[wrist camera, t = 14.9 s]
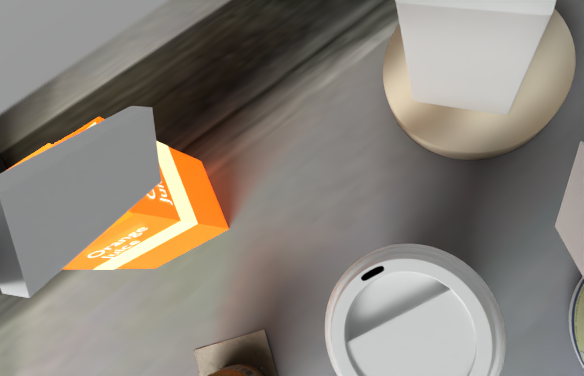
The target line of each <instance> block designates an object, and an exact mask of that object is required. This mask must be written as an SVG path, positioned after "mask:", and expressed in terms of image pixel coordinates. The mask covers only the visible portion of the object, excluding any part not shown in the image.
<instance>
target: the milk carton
mask: <svg viewBox="0 0 584 376" xmlns="http://www.w3.org/2000/svg"><path fill="white" fill-rule="evenodd" d="M395 1H396V6H397V11H398V17H399V23H400V29H401V34H402V40H403V46H404V52H405V57H406V63H407V69H408V74H409V80H410V86H411V92H412V97H413V100H414V101H417V102H422V103H428V104H435V105H441V106H448V107H454V108H461V109H467V110H473V111H480V112H486V113H493V114H499V115H508V113H509V111H510V109H511V107H512V104H513V102H514V100H515V97H516V95H517V93H518V91H519V88H520V86H521V84H522V81H523V79H524V77H525V75H526V72H527V70H528V68H529V65H530V63H531V61H532V58H533V56H534V54H535V52H536V49H537V47H538V45H539V42H540V40H541V38H542V36H543V33H544V31H545V29H546V26H547V24H548V22H549V20H550V17H551V15H552V13H553V10H554V7H555V3H556V0H395Z"/></svg>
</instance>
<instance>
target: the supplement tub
mask: <svg viewBox="0 0 584 376" xmlns="http://www.w3.org/2000/svg"><path fill="white" fill-rule="evenodd" d="M569 331H570V337H571V340H572V344H573V347H574V350H575V352H576V355H577V357H578V359H579V361H580V363H581V365H582V367H583V368H584V278H583V277H582V278H581V279H580V281H579V283H578V284H577V286H576V288H575V290H574V293H573V296H572V299H571V302H570V308H569Z"/></svg>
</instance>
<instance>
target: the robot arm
mask: <svg viewBox="0 0 584 376" xmlns="http://www.w3.org/2000/svg"><path fill="white" fill-rule="evenodd" d="M159 183H161V175H160V167H159V159H158V151H157V143H156V135H155V127H154V119H153V111H152V107H139V106H130V107H128V108H126V109H124V110H122V111H121V112H119V113H117V114H115V115H113V116H111V117H109V118H107V119H105V120H103V121H101V122H99V123H97V124H95V125H93V126H91V127H89V128H88V129H86V130H84V131H82V132H80V133H78V134H76V135H74V136H72V137H70V138H68V139H66V140H64V141H62V142H60V143H58V144H57V145H55V146H53V147H51V148H49V149H47V150H45V151H43V152H41V153H39V154H37V155H35V156H33V157H31V158H29V159H27V160H25V161H24V162H22V163H20V164H18V165H16V166H14V167H12V168H10V169H8V170H7V169H6V166H5V164H4V162H3V160H2V159H1V157H0V288H1V291H2V293H4V294H10V295H15V296H21V297H27V298H30V297H32V296H33V295H34V294H35V293H36V292H37V291H38V290H39V289H41V288H42V287H43V286H44V285H45V284H46V283H47V282H49V281H50V280H51V279H52V278H53V277H54V276H55V275H56V274H58V273H59V272H60V271H61V270H62V269H63V268H64V267H66V266H67V265H68V264H69V263H70V262H71V261H72V260H73V259H75V258H76V257H77V256H78V255H79V254H80V253H81V252H82V251H84V250H85V249H86V248H87V247H88V246H89V245H90V244H92V243H93V242H94V241H95V240H96V239H97V238H98V237H99V236H101V235H102V234H103V233H104V232H105V231H106V230H107V229H108V228H110V227H111V226H112V225H113V224H114V223H115V222H116V221H118V220H119V219H120V218H121V217H122V216H123V215H124V214H125V213H127V212H128V211H129V210H130V209H131V208H132V207H133V206H135V205H136V204H137V203H138V202H139V201H140V200H141V199H142V198H144V197H145V196H146V195H147V194H148V193H149V192H150V191H151V190H153V189H154V188H155V187H156V186H157V185H158V184H159ZM555 227H556V229H557V231H558V233H559V234H560V236H561V238H562V240H563V242H564V243H565V245H566V247H567V249H568V251H569V252H570V254H571V256H572V258H573V260H574V262H575V263H576V265H577V267H578V269H579V271H580V272H581V274H582V276H583V278H584V142H582V141H580V144H579V148H578V151H577V154H576V158H575V161H574V164H573V168H572V171H571V174H570V178H569V181H568V184H567V188H566V191H565V194H564V197H563V201H562V204H561V207H560V211H559V214H558V217H557V221H556V224H555Z"/></svg>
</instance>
